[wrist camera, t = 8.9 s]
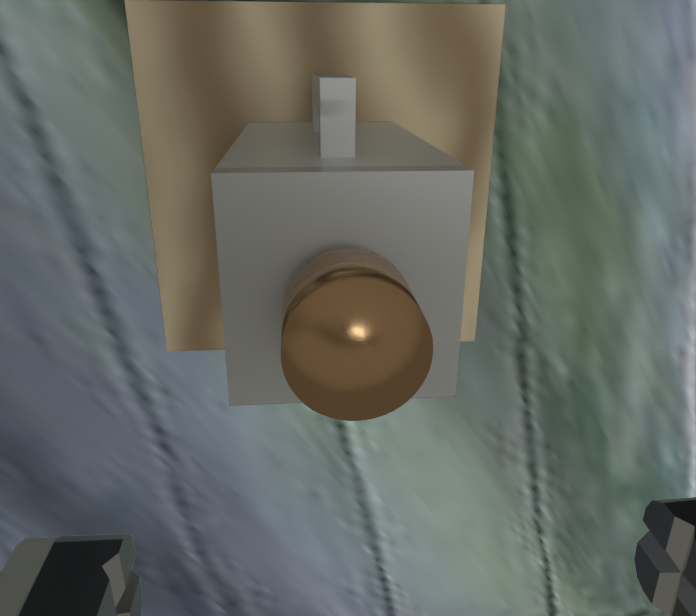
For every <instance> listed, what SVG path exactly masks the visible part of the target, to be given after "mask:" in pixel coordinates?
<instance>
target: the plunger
mask: <svg viewBox="0 0 696 616" xmlns="http://www.w3.org/2000/svg"><path fill="white" fill-rule="evenodd" d="M432 358H433V339H432V334H431V331H430V327H429V325H428V323H427V321H426V319H425V317H424V315H423V313H422V311H421V309H420V307H419V305H418V303H417V301H416V299H415V297H414V295H413V293H412V291H411V289H410V287H409V285H408V284H407V282H406V280H405V278H404V277H403V275H402V274H401V272H400V271H399V270H398V269H397V268H396V267H395V266H394V265H393V264H392V263H391V262H390V261H388V260H387V259H385V258H383V257H382V256H380V255H378V254H375V253H373V252H370V251H366V250H361V249H349V248H348V249H338V250H333V251H329V252H327V253H324V254H321V255H319V256H317V257H315V258H314V259H312V260H311V261H309V262H308V263H306V264H305V265H304V266H303V267H302V268H301V269H300V270H299V271H298V272H297V273H296V274H295V276H294V277H293V279H292V280H291V282H290V284H289V286H288V288H287V290H286V293H285V296H284V301H283V312H282V335H281V365H282V370H283V373H284V376H285V379H286V381H287V383H288V385H289V387H290V388H291V390H292V391H293V393H294V394H295V395H296V396H297V397H298V399H300V400H301V401H302V402H303V403H304V404H305V405H307V406H308V407H309V408H311V409H312V410H314V411H316V412H318V413H320V414H322V415H325V416H328V417H331V418H335V419H339V420H347V421H359V420H367V419H372V418H376V417H379V416H382V415H385V414H387V413H390V412H392V411H394V410H395V409H397V408H399V407H400V406H402V405H403V404H404V403H406V402H407V401H408V400H409V399H410V398H411V397H412V396H413V395H414V394H416V392H417V391H418V390H419V388H420V387H421V386H422V384H423V382H424V381H425V379H426V377H427V375H428V372H429V370H430V367H431V363H432Z"/></svg>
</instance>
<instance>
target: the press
mask: <svg viewBox="0 0 696 616" xmlns="http://www.w3.org/2000/svg"><path fill="white" fill-rule="evenodd" d="M355 115H356V78H355V77H351V76H347V75H342V74H338V73H312V121H291V122H249V123H248V124H247V126H246V127H245V128H244V130H243V131H242V132H241V134H240V135H239V136H238V138H237V139H236V140H235V142H234V143H233V144H232V146H231V147H230V148H229V150H228V151H227V152H226V154H225V155H224V156H223V158H222V159H221V160H220V162H219V163H218V164H217V166H216V167H215V168H214V170H213V171H212V172H211V180H212V193H213V205H214V217H215V230H216V242H217V255H218V267H219V279H220V292H221V304H222V316H223V329H224V341H225V353H226V366H227V378H228V390H229V403H230V406H234V405H259V404H284V403H303V402H302V401H301V400H300V399H298V397H297V396H296V395H295V394H294V393H293V391H292V390H291V388H290V387H289V385H288V383H287V381H286V379H285V376H284V373H283V370H282V365H281V335H282V312H283V301H284V296H285V293H286V290H287V288H288V286H289V284H290V282H291V280H292V279H293V277H294V276H295V274H296V273H297V272H298V271H299V270H300V269H301V268H302V267H303V266H304V265H305V264H306V263H308V262H309V261H311V260H312V259H314V258H315V257H317V256H319V255H321V254H324V253H327V252H329V251H333V250H338V249H348V248H349V249H361V250H366V251H370V252H373V253H375V254H378V255H380V256H382V257H383V258H385V259H387V260H388V261H390V262H391V263H392V264H393V265H394V266H395V267H396V268H397V269H398V270H399V271H400V272H401V274H402V275H403V277H404V278H405V280H406V282H407V284H408V285H409V287H410V289H411V291H412V293H413V295H414V297H415V299H416V301H417V303H418V305H419V307H420V309H421V311H422V313H423V315H424V317H425V319H426V321H427V323H428V325H429V327H430V331H431V334H432V339H433V358H432V363H431V367H430V370H429V372H428V375H427V377H426V379H425V381H424V382H423V384H422V386H421V387H420V388H419V390H418V391H417V392H416V394H414V395H413V396H412V397H411V398H434V397H456V388H457V376H458V363H459V351H460V339H461V326H462V314H463V302H464V289H465V277H466V264H467V252H468V240H469V227H470V215H471V203H472V190H473V178H474V170H473V169H471V168H469V167H467V166H466V165H464V164H462V163H461V162H459V161H457V160H456V159H454V158H452V157H451V156H449V155H447V154H446V153H444V152H442V151H441V150H439V149H437V148H436V147H434V146H432V145H431V144H429V143H427V142H426V141H424V140H422V139H421V138H419V137H417V136H416V135H414V134H412V133H411V132H409V131H407V130H406V129H404V128H402V127H401V126H399V125H397V124H396V123H394V122H392V121H355Z"/></svg>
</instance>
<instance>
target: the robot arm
mask: <svg viewBox="0 0 696 616" xmlns="http://www.w3.org/2000/svg"><path fill="white" fill-rule="evenodd" d="M643 522H644V523H645V525H646V526H647V528H648V529H649V531H648V532H647V533H646V534H645V535H644V536H643V537H642V538H641V539H640V540H639V541H638V543H637V548H636V554H635V565H636V572H637V577H638V579H639V582H640V584H641V587H642V589H643V591H644V593H645V594H646V596H647V597H648V599H649V600H650V602H651V603H652V604H653V605H654V606H656V607H657V608H659V609H660V610H662V611H663V612H665V613H667V614H668V615H670V616H696V497H694V498H680V499H666V500H652V501H651V502H650V504H649V505H648V506H647V507H646V510H645V514H644V518H643ZM135 555H136V553H135V548H134V543H133V538H132V536H130V535H129V534H107V535H81V536H61V537H49V538H25V539H24V540H23V541H21V542H20V543H19V544H18V545H17V546H16V547H15V549H14V551H13V552H12V554H11V556H10V558H9V560H8V561H7V563H6V565H5V567H4V568H3V570H2V572H1V574H0V616H141V609H142V590H141V583H140V577H139V576H138V575H137V574H136V573H135V572H133V571H132V570H131V568H132V565H133V561H134V558H135Z"/></svg>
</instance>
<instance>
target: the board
mask: <svg viewBox="0 0 696 616" xmlns="http://www.w3.org/2000/svg"><path fill="white" fill-rule="evenodd" d="M125 8H126V16H127V24H128V33H129V41H130V49H131V57H132V66H133V74H134V82H135V90H136V99H137V107H138V115H139V124H140V132H141V140H142V148H143V157H144V165H145V173H146V181H147V190H148V198H149V206H150V214H151V223H152V231H153V239H154V247H155V256H156V264H157V272H158V280H159V289H160V297H161V305H162V313H163V322H164V330H165V338H166V346H167V351H189V350H219V349H225V341H224V329H223V316H222V304H221V292H220V279H219V267H218V255H217V242H216V230H215V217H214V205H213V193H212V180H211V172H212V171H213V170H214V168H215V167H216V166H217V164H218V163H219V162H220V160H221V159H222V158H223V156H224V155H225V154H226V152H227V151H228V150H229V148H230V147H231V146H232V144H233V143H234V142H235V140H236V139H237V138H238V136H239V135H240V134H241V132H242V131H243V130H244V128H245V127H246V126H247V124H248V123H249V122H291V121H312V73H338V74H342V75H347V76H351V77H355V78H356V115H355V121H392V122H394V123H396V124H397V125H399V126H401V127H402V128H404V129H406V130H407V131H409V132H411V133H412V134H414V135H416V136H417V137H419V138H421V139H422V140H424V141H426V142H427V143H429V144H431V145H432V146H434V147H436V148H437V149H439V150H441V151H442V152H444V153H446V154H447V155H449V156H451V157H452V158H454V159H456V160H457V161H459V162H461V163H462V164H464V165H466V166H467V167H469V168H471V169H473V170H474V178H473V190H472V203H471V215H470V227H469V240H468V252H467V264H466V277H465V289H464V302H463V314H462V326H461V339H460V342H462V341H475V335H476V324H477V313H478V302H479V291H480V280H481V269H482V258H483V247H484V236H485V225H486V214H487V203H488V192H489V181H490V170H491V159H492V147H493V136H494V125H495V114H496V103H497V92H498V81H499V70H500V59H501V48H502V37H503V26H504V15H505V4H423V3H336V2H249V1H161V0H125Z"/></svg>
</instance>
